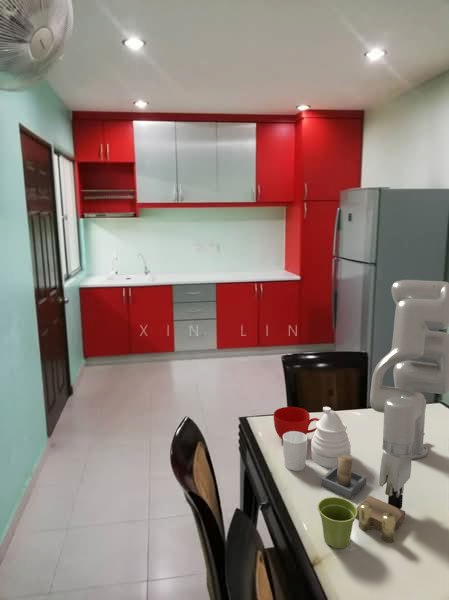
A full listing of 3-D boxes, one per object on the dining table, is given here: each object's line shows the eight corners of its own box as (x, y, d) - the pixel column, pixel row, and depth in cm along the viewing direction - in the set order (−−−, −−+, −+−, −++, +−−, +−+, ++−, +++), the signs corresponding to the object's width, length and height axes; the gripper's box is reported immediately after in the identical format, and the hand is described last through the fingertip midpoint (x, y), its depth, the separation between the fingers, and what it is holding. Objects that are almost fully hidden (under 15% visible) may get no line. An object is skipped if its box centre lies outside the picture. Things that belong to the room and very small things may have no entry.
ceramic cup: (321, 451, 146) (322, 424, 145) (272, 447, 149) (272, 421, 148) (319, 433, 159) (320, 408, 157) (274, 430, 162) (274, 405, 160)
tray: (337, 472, 134) (337, 464, 133) (366, 484, 127) (366, 476, 127) (321, 485, 127) (321, 478, 127) (350, 499, 120) (350, 491, 120)
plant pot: (312, 528, 109) (312, 497, 108) (347, 525, 110) (348, 495, 109) (323, 555, 100) (324, 523, 99) (362, 552, 101) (363, 519, 99)
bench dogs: (362, 521, 111) (362, 500, 110) (396, 538, 105) (397, 516, 104) (356, 527, 109) (357, 506, 108) (390, 544, 103) (392, 522, 102)
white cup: (307, 473, 134) (307, 444, 132) (281, 471, 135) (281, 442, 133) (307, 459, 141) (307, 432, 139) (283, 457, 143) (283, 430, 141)
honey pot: (328, 472, 134) (329, 419, 131) (303, 453, 145) (303, 404, 142) (358, 461, 140) (360, 410, 137) (332, 444, 151) (333, 396, 148)
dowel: (342, 477, 130) (343, 453, 128) (353, 483, 127) (354, 459, 125) (334, 482, 127) (335, 458, 126) (345, 488, 124) (346, 464, 123)
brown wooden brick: (368, 505, 118) (369, 495, 118) (404, 521, 112) (405, 511, 111) (355, 519, 113) (355, 509, 112) (392, 537, 106) (392, 527, 105)
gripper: (395, 430, 120) (393, 488, 123) (371, 450, 109) (369, 514, 112) (423, 438, 114) (419, 499, 118) (400, 461, 104) (397, 527, 107)
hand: (394, 506), depth 115 cm, fingers closed
